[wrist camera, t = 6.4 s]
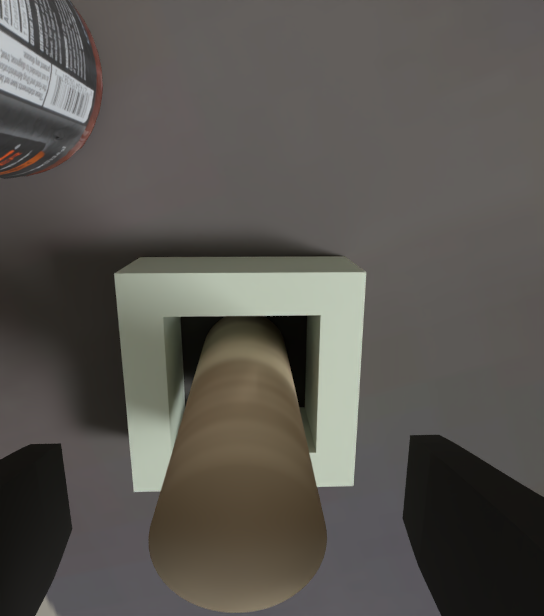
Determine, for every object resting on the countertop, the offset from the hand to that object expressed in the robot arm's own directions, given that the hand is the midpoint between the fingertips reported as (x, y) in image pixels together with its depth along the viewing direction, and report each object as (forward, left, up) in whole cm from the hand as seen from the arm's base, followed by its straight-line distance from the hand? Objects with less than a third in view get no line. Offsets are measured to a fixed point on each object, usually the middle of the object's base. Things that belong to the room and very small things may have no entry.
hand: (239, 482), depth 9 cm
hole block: (0, 0, -7) cm, 7 cm away
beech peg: (0, 0, -7) cm, 7 cm away
